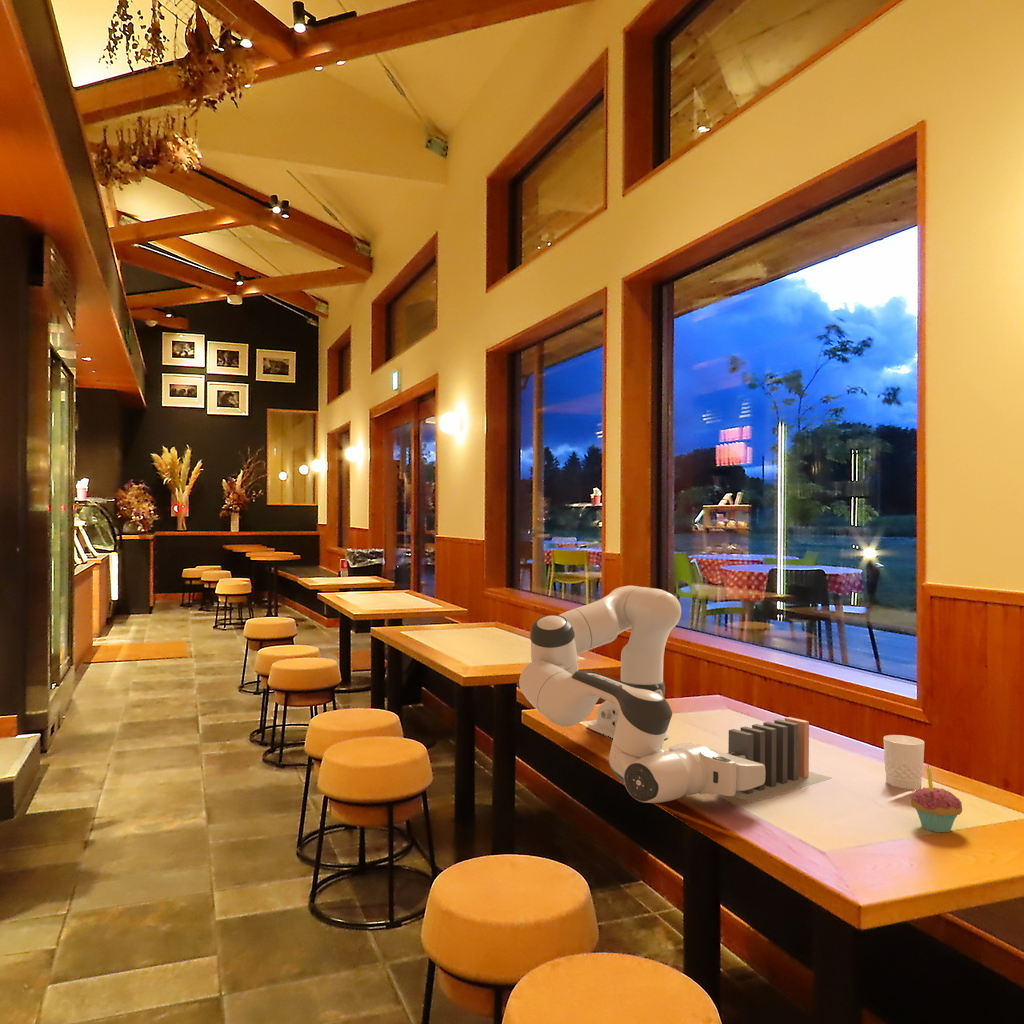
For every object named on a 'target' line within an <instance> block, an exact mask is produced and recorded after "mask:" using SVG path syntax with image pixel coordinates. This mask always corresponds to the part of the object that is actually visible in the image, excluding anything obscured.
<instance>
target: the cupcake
mask: <svg viewBox="0 0 1024 1024" xmlns="http://www.w3.org/2000/svg"><path fill="white" fill-rule="evenodd" d="M926 773H927V774H926V775H927V780H928V781H927V783H928V787H923V788H921V789H919V790H916V791H913V793H912V794H910V804H911V808H913V809H915V811H916V813H917V815H918V818H919V821H920V826H921V827H922V828H924V829H925V830H927V831H930V832H933V831H934V832H935V833H940V832H946V833H949V832H951V831H952V827H953V825H954V822H955V820H956V818H957V817H958V816H959V815H961V814H962V813H963V806H962V805H963V803H962V801H961V800H960V798H959V797H957V796H956V795H954V794H953V793H952V792H951V791H949V790H947V789H946V790H945V789H944V788H939V787H934V785H933V778H932V768H931V767H930V766H929V763H928V762H927V767H926ZM934 832H933V833H934Z"/></svg>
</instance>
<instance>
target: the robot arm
mask: <svg viewBox="0 0 1024 1024" xmlns="http://www.w3.org/2000/svg"><path fill="white" fill-rule="evenodd" d="M681 616H682V605H681V603H680V601H679V599H678V598H677V597H676V596H675V595H673V594H672V593H670V592H668V591H666V590H664V589H660V588H654V587H653V588H652V587H648V586H647V587H646V586H638V585H625V586H620V587H616V588H615V589H613V590H612V591H611V592H609V594H607V595H605V596H604V597H602V598H600V599H598V600H596V601H593V602H591V603H586V604H585V605H582V606H579V607H576V608H573V609H570V610H567V611H565V612H563V613H560V614H547V615H542V616H541V617H539V618H538V619H536V620H535V621H534V622H533V623H532V625H531V628H530V633H529V635H530V636H529V639H530V657H531V659H530V660H531V661H530V663H528V664H527V665H526V666H525V667H524V668H523V669H522V671H521V673H520V676H519V680H518V681H519V682H518V685H519V690H520V691H521V693H522V695H523V696H524V698H525V699H526V700H527V701H528V702H529V704H530V705H532V707H533V708H534V709H535V710H536V711H537V712H539V713H540V714H541V715H542V716H543V717H545V718H546V719H547V720H549V722H552V723H553V724H555V725H557V726H560V727H571V726H572V727H573V726H575V725H578V724H579V723H581V722H583V721H584V720H585V719H586V718H587V717H589V716H590V715H591V713H592V711H593V710H594V708H595V706H596V704H597V703H598V701H599V699H602V700H604V701H603V702H601V703H600V705H599V706H598V708H597V712H596V713H597V715H596V720H594V721H591V722H589V723H587V728H588V729H590V730H592V731H595V732H597V733H598V734H601V735H603V734H604V735H603V736H606V737H608V736H609V737H608V738H610V737H611V739H612V738H613V739H612V742H611V746H610V751H609V755H608V765H609V767H610V770H611V771H612V772H613V774H614V775H615V777H617V779H618V780H619V781H620V782H622V784H624V786H625V788H626V790H627V791H626V792H628V793H629V795H630V796H631V797H632V798H633V799H634V800H636V801H638V802H639V803H640V802H641V803H644V804H645V803H649V804H656V803H657V804H658V803H665V802H666V803H667V802H670V801H675V800H677V799H680V798H682V797H683V796H692V795H697V794H700V795H707V794H710V795H718V796H724V797H734V796H733V795H735V793H736V791H745V790H749V789H752V788H755V787H758V786H761V785H763V784H764V782H765V776H766V772H765V766H764V764H761V763H758V762H754V761H751V760H747V759H746V756H745V755H741V754H737V753H734V752H732V753H728V752H722V751H720V750H719V751H718V750H715V749H712V748H708V747H706V746H705V745H701V744H695V743H691V742H682V743H679V744H675V745H673V746H671V747H669V749H668V750H666V751H665V750H663V746H664V741H665V739H669V737H670V734H669V732H668V731H669V730H668V728H669V726H670V722H671V719H672V716H673V710H672V708H671V706H670V704H669V702H668V701H667V699H666V698H665V694H666V693H665V692H666V691H665V690H666V686H665V681H664V656H665V648H666V645H667V642H668V638H669V635H670V633H671V631H672V630H673V629H674V628H675V627H676V626H677V625H678V623H679V622H680V620H681V618H682V617H681ZM628 630H631V631H630V634H629V635H630V636H629V639H628V641H627V643H626V645H625V646H623V648H622V649H621V652H620V679H617V678H614V677H612V676H609V675H605V674H603V673H600V672H597V671H592V670H579V657H578V654H582V653H584V652H587V651H589V650H593V649H595V648H597V647H598V648H599V647H602V646H603V645H607V644H610V643H612V642H613V641H615V640H616V639H617V638H618V635H620V634H621V633H623V632H624V631H625V632H626V631H628Z"/></svg>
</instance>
